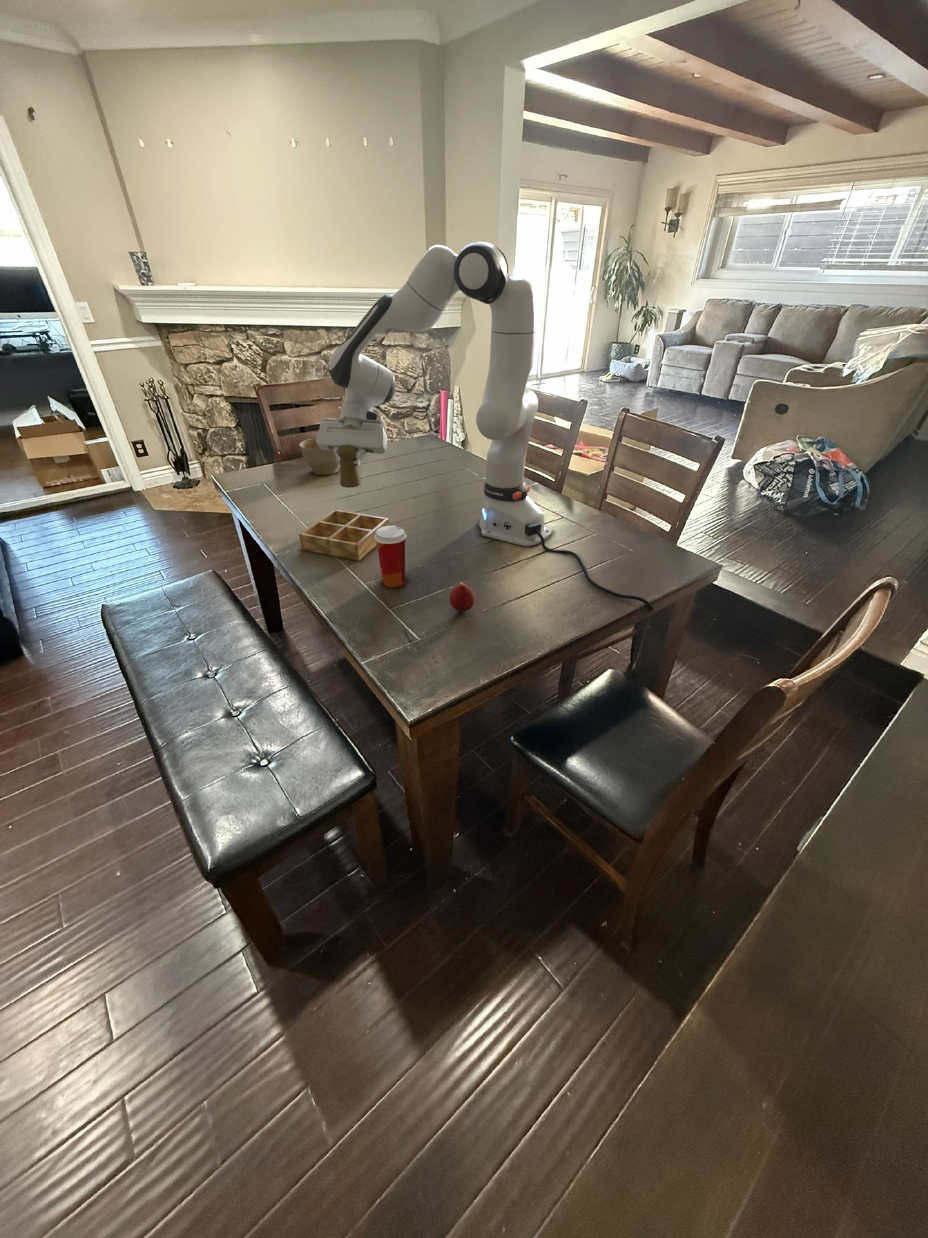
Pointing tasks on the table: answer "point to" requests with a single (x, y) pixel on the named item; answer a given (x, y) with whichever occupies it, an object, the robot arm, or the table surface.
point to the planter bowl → (319, 458)
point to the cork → (348, 467)
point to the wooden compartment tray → (343, 534)
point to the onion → (462, 598)
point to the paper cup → (391, 555)
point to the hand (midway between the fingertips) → (347, 464)
